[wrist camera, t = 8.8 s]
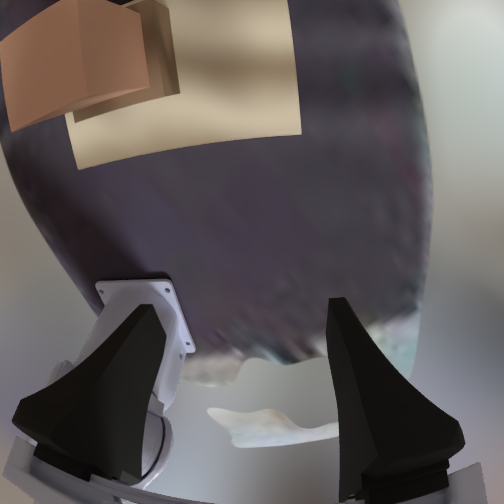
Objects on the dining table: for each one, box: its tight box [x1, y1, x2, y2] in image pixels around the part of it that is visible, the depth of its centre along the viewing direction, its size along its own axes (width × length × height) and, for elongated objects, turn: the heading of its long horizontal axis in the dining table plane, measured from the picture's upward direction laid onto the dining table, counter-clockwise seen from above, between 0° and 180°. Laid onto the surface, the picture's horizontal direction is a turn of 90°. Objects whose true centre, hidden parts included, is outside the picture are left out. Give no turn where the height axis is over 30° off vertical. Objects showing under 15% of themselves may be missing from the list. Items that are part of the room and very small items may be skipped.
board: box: [65, 0, 301, 170], centre depth 15 cm, size 11×16×1 cm
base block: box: [73, 0, 181, 123], centre depth 13 cm, size 6×6×3 cm
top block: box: [0, 0, 150, 133], centre depth 9 cm, size 4×4×6 cm
